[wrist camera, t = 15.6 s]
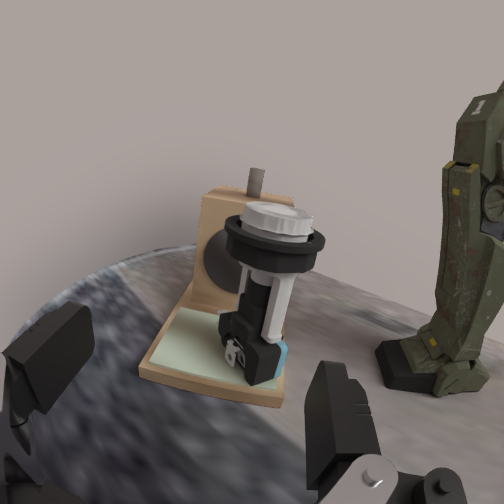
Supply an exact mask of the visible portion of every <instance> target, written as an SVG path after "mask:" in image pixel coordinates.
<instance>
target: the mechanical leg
mask: <svg viewBox="0 0 504 504" xmlns="http://www.w3.org/2000/svg"><path fill="white" fill-rule="evenodd" d="M442 170H443V171H442V201H443V226H442V239H441V240H442V241H441V251H440V261H439V269H438V276H437V283H436V289H435V297H436V304H437V310H436V312H435V313H434V315H433V317H432V319H431V321H430V323H428V324H426V325H424V326H422V327H421V328H420V329H419V330H418V332H417V335H416V336H412V337H408V338H404V339H399V340H390V341H383V342H382V343H381V344H380V345H379V346H378V348H377V349H376V350H375V354H376V357H377V360H378V363H379V366H380V370H381V373H382V376H383V379H384V383H385V385H386V387H387V388H389V389H396V390H403V391H410V392H418V393H427V394H431V393H432V392H433V393H434V394H435V395H436V396H447V394H448V393H449V392H450V393H459V392H464V391H479V390H480V389H481V388H482V387H483V385H484V384H485V383H486V382H487V381H488V379H489V378H490V375H489V374H488V372H487V371H486V369H485V368H484V366H483V365H482V363H481V362H480V360H479V359H478V357H479V355H480V351H481V347H482V343H483V339H484V334H485V333H486V331H487V330H488V328H489V326H490V325H491V323H492V322H493V320H494V318H495V317H496V315H497V313H498V312H499V310H500V308H501V306H502V305H503V303H504V244H503V242H504V81H503V83H502V84H501V86H500V87H499V89H498V90H497V92H496V93H491V94H486V95H482V96H478V97H474V98H473V100H472V101H471V103H470V104H469V106H468V107H467V109H466V110H465V112H464V113H463V115H462V116H461V118H460V119H459V120H458V122H457V125H456V136H455V146H454V155H453V161H450V162H449V163H447V164H446V165H445V166H444V167H443V169H442Z"/></svg>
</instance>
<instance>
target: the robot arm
mask: <svg viewBox="0 0 504 504" xmlns="http://www.w3.org/2000/svg"><path fill="white" fill-rule="evenodd" d="M94 346H95V340H94V334H93V327H92V320H91V313H90V309H89V308H88V307H87V306H85V305H82V304H79V303H76V302H73V301H68V302H66V303H65V304H64V305H63V306H62V307H60V308H59V309H58V310H55V311H52V312H50V313H48V314H45V315H44V316H42V317H41V318H40V319H39V320H38V321H37V322H35V324H33V325H32V326H31V327H30V328H29V329H28V331H27V330H26V331H25V332H24V333H23V334H22V335H21V336H19V337H18V338H17V339H16V340H15V341H14V342H13V343H12V344H11V345H10V346H8V347H7V348H6V349H5V350H4V351H3V352H2V353H0V504H87V503H85V502H84V501H83V500H82V499H80V498H79V497H77V496H75V495H73V494H71V493H70V492H68V491H66V490H64V489H62V488H60V487H59V486H57V485H55V484H54V483H52V482H50V481H49V480H46V481H45V479H44V477H43V474H42V472H41V470H40V468H39V466H38V462H37V457H36V449H35V441H34V430H33V418H32V415H31V412H32V411H33V410H34V409H36V410H38V411H39V412H41V413H43V414H45V415H46V413H47V412H48V411H49V409H50V408H51V407H52V405H53V404H54V403H55V401H56V400H57V399H58V397H59V396H60V395H61V394H62V392H63V391H64V390H65V388H66V387H67V386H68V384H69V383H70V382H71V381H72V379H73V378H74V377H75V375H76V374H77V373H78V372H79V370H80V369H81V368H82V367H83V365H84V364H85V363H86V362H87V360H88V359H89V358H90V357H91V355H92V353H93V350H94ZM304 413H305V438H306V476H307V490H318V500H317V501H316V502H315V503H314V504H467V500H466V496H465V493H464V489H463V485H462V482H461V479H460V478H459V476H458V475H457V474H456V473H455V472H454V471H452V470H450V469H448V468H436V469H434V470H432V471H430V472H429V473H428V474H427V475H426V476H425V477H424V476H418V475H412V474H406V473H402V472H399V471H397V469H396V467H395V466H394V464H393V463H392V462H391V461H390V460H388V459H387V458H385V457H383V456H382V455H381V452H380V447H379V443H378V439H377V435H376V431H375V427H374V423H373V419H372V416H371V411H370V407H369V406H368V400H367V396H366V392H365V390H364V389H363V387H362V386H361V385H360V384H359V382H358V381H357V380H356V379H348V375H347V371H346V366H345V364H344V363H340V362H331V361H323V360H322V361H320V363H319V365H318V367H317V370H316V372H315V375H314V377H313V380H312V382H311V384H310V387H309V389H308V392H307V395H306V399H305V405H304Z"/></svg>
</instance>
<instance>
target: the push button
mask: <svg viewBox="0 0 504 504" xmlns="http://www.w3.org/2000/svg"><path fill="white" fill-rule="evenodd" d="M312 220H313V217H312V215H311V214H309V213H307V212H305V211H303V210H300V209H297V208H294V207H291V206H286V205H282V204H277V203H270V202H260V201H259V202H257V201H254V202H247V203H246V204H245V208H244V213H243V214H241V215H234V216H230V217H228V218H227V219H226V220H225V225H224V229H225V231H226V232H227V233H228V236H227V243H226V251H227V252H228V253H229V255H230V256H231V257H232V258H234V259H236V260H238V261H239V263H240V264H241V266H243V269H242V275H241V281H240V287H239V292H238V298H237V302H236V303H235V310H236V311H232V312H228V311H227V310H221V311H217V313H218V314H219V315H220V317H219V321H216V324H217V325H218V333H219V335H220V336H221V342H222V344H223V346H224V347H225V348H226V352H225V359H226V361H227V362H228V363H229V364H230V366H231V367H234V366H235V361H236V362H237V363H238V364H239V366H240V367H241V368H242V369H243V370H244V378H245V380H246V382H247V383H248V384H249V385H250V386H254V385H257V384H260V383H263V382H266V381H269V380H271V379H274V378H277V377H280V375H281V373H282V369H283V365H284V362H285V359H286V356H287V353H288V347H287V345H286V344H285V343H284V342H283V338H284V335H282V334H281V329H282V326H283V322H284V318H285V314H286V311H287V307H288V303H289V299H290V295H291V291H292V287H293V283H294V280H295V277H296V276H297V275H298V274H299V273H304V272H306V271H309V270H311V269H312V268H313V267H314V264H315V260H316V256H317V252H319V251H321V250H322V249H323V248H324V244H325V237H324V236H323V235H322V234H321V233H319V232H318V231H316V230H314V229H313V228H312V227H311V225H312ZM229 354H230V355H231V357H232V360H230V359H229Z"/></svg>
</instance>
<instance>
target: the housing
mask: <svg viewBox="0 0 504 504" xmlns="http://www.w3.org/2000/svg"><path fill="white" fill-rule="evenodd" d="M264 172H265V170H263V169H257V168H250V174H249V180H248V185H247V190H246V189H240V188H234V187H228V186H221V185H220V186H218V187H217V188H215V189H213V190H212V191H210V192H208V193H207V194H205V195H203V196H202V202H201V210H200V218H199V226H198V235H197V244H196V254H195V264H194V274H193V280H192V281H191V283H190V284H189V286H188V287H187V289H186V290H185V292H184V294H183V295H182V297H181V298H180V300H179V301H178V303H177V305H176V306H175V308H174V309H173V311H172V312H171V314H170V316H169V317H168V319H167V320H166V322H165V324H164V325H163V327H162V328H161V330H160V332H159V333H158V335H157V337H156V338H155V340H154V341H153V343H152V345H151V346H150V348H149V350H148V351H147V353H146V355H145V356H144V358H143V359H142V361H141V363H140V364H139V366H138V367H139V377H141V378H144V379H147V380H150V381H154V382H157V383H161V384H164V385H168V386H171V387H175V388H179V389H183V390H187V391H191V392H195V393H199V394H203V395H208V396H212V397H217V398H222V399H227V400H232V401H237V402H242V403H248V404H254V405H260V406H267V407H274V408H280V407H281V405H282V402H283V399H284V365H283V369H282V373H281V375H280V377H277V378H274V379H271V380H269V381H266V382H263V383H260V384H257V385H254V386H250V385H249V384H248V383H247V382H246V380H245V378H244V370H243V369H242V368H241V367H240V366H239V364H238V363H237V362H236V361H235V366H234V367H231V366H230V364H229V363H228V362H227V361H226V359H225V352H226V348H225V347H224V346H223V344H222V342H221V336H220V335H219V333H218V325H217V324H216V321H219V317H220V315H219V314H218V313H217V311H221V310H227V311H228V312H232V311H236V310H235V303H236V302H237V298H238V292H239V287H240V281H241V275H242V269H243V266H241V264H240V263H239V261H238V260H236V259H234V258H232V257H231V256H230V255H229V253H228V252H227V251H226V243H227V236H228V233H227V232H226V231H225V229H224V225H225V220H226V219H227V218H228V217H230V216H234V215H241V214H243V213H244V208H245V204H246V203H247V202H254V201H257V202H259V201H260V202H270V203H277V204H282V205H286V206H291V207H294V204H293V200H292V198H289V197H284V196H279V195H273V194H268V193H263V192H261V189H262V182H263V177H264ZM281 334H282V335H284V322H283V326H282V329H281ZM283 342H284V338H283ZM229 359H230V360H232V357H231V355H230V354H229Z"/></svg>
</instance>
